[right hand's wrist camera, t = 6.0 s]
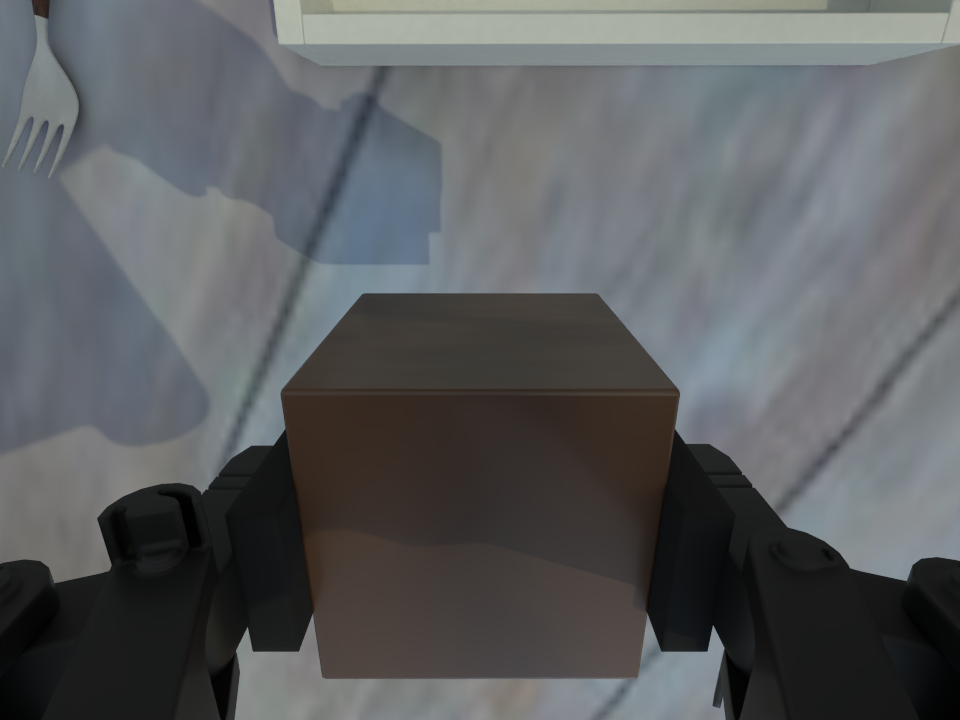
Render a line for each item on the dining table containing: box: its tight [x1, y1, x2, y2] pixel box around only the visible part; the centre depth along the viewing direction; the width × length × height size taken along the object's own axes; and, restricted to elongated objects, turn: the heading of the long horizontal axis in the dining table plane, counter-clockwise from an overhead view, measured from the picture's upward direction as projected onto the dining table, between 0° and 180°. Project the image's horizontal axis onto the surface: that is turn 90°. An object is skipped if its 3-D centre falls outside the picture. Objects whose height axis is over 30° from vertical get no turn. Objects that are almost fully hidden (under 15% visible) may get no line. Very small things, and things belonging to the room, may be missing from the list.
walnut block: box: [281, 293, 680, 679], centre depth 12 cm, size 6×6×6 cm
